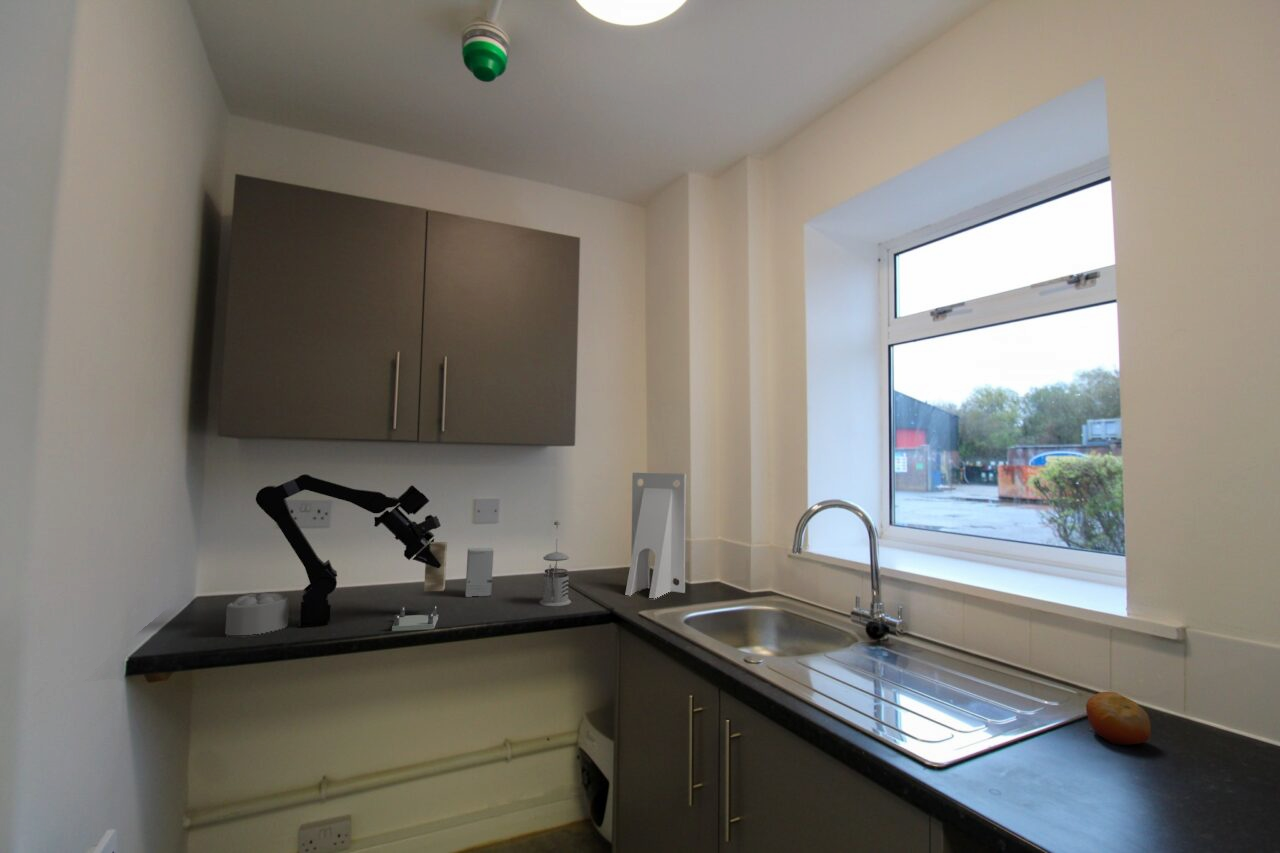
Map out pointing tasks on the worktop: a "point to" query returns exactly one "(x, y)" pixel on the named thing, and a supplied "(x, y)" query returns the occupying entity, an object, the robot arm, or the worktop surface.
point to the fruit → (1118, 719)
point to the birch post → (433, 574)
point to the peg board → (415, 621)
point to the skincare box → (479, 572)
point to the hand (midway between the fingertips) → (440, 565)
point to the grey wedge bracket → (658, 533)
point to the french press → (555, 581)
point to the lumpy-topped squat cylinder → (257, 614)
